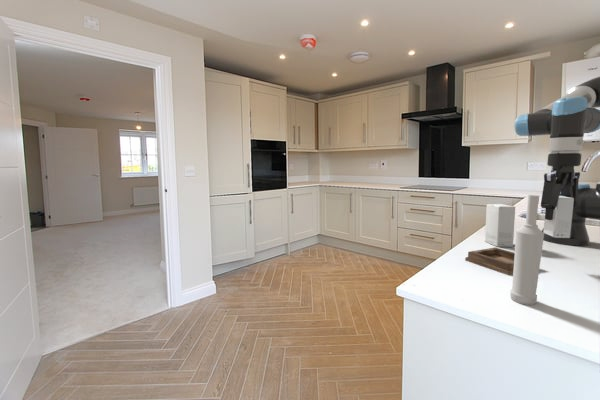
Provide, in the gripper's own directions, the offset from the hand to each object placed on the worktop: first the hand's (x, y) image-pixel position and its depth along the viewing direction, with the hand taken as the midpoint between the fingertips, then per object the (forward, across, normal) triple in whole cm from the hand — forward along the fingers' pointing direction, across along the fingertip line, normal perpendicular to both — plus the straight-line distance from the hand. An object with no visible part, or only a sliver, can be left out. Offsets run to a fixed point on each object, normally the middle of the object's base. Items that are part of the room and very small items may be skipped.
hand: (556, 228), depth 94 cm
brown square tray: (+12, -13, +8) cm, 19 cm away
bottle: (+12, -33, -11) cm, 36 cm away
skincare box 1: (+12, +9, +24) cm, 29 cm away
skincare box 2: (+2, 0, 0) cm, 2 cm away
